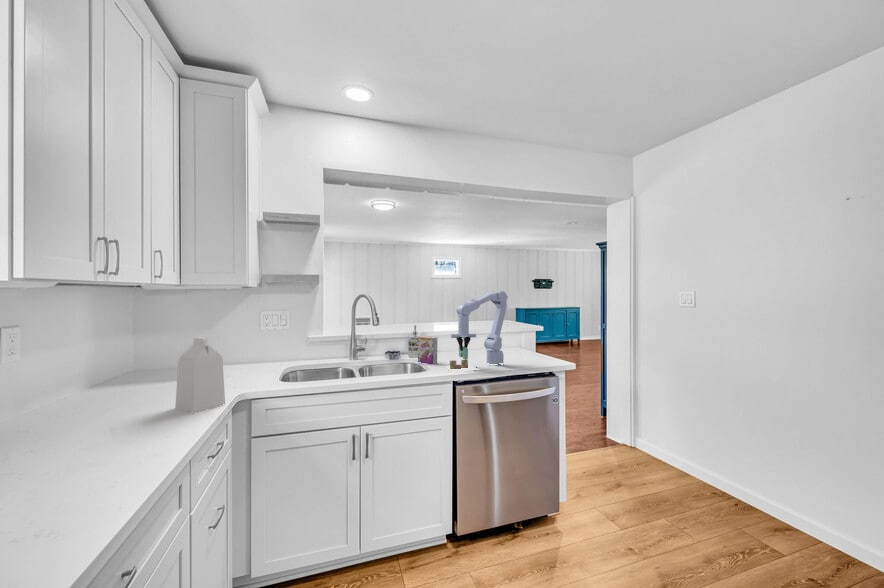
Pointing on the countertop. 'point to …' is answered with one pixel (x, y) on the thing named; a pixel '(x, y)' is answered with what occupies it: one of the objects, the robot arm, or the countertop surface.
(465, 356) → the light green flat block
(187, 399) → the milk
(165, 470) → the countertop surface
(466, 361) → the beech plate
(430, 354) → the candy bar box
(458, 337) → the robot arm
